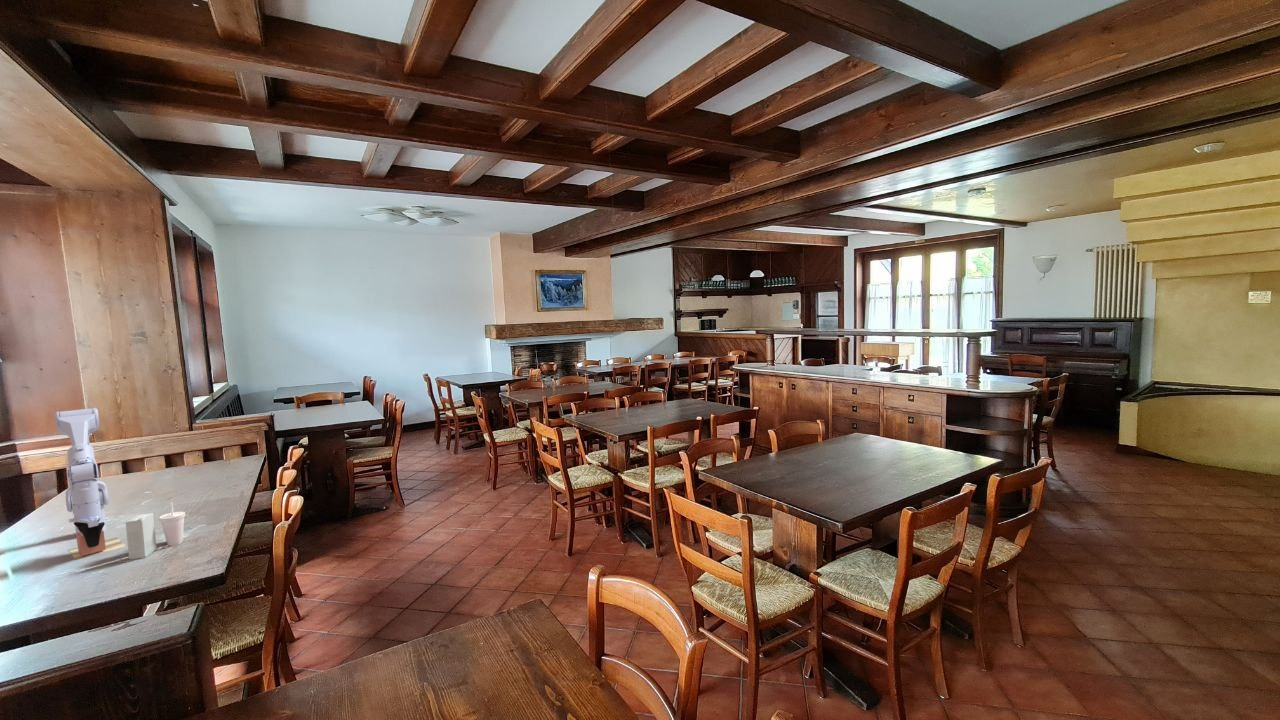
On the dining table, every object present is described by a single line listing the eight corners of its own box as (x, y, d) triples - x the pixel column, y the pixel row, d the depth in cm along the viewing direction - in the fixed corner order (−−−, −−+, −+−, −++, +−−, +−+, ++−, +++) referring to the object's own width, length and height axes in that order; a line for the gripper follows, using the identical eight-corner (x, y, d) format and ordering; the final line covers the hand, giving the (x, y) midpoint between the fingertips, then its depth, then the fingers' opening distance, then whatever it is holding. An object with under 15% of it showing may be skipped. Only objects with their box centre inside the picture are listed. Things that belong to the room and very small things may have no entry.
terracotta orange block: (102, 545, 166) (99, 526, 166) (105, 549, 163) (103, 530, 163) (78, 551, 162) (75, 532, 161) (81, 556, 159) (79, 536, 158)
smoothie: (164, 549, 165) (159, 506, 164) (159, 545, 169) (155, 503, 167) (190, 542, 170) (186, 500, 169) (185, 537, 174) (181, 497, 173)
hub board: (68, 552, 165) (67, 540, 165) (117, 539, 174) (115, 528, 174) (76, 562, 158) (74, 550, 157) (126, 548, 166) (125, 537, 166)
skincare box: (140, 551, 164) (136, 514, 163) (158, 549, 165) (153, 512, 164) (128, 560, 158) (123, 521, 157) (146, 557, 159) (141, 519, 158)
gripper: (63, 501, 162) (68, 543, 163) (71, 510, 154) (77, 554, 155) (95, 494, 168) (100, 535, 169) (105, 503, 160) (110, 545, 161)
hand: (91, 544), depth 162 cm, fingers closed on terracotta orange block, 5 cm apart
